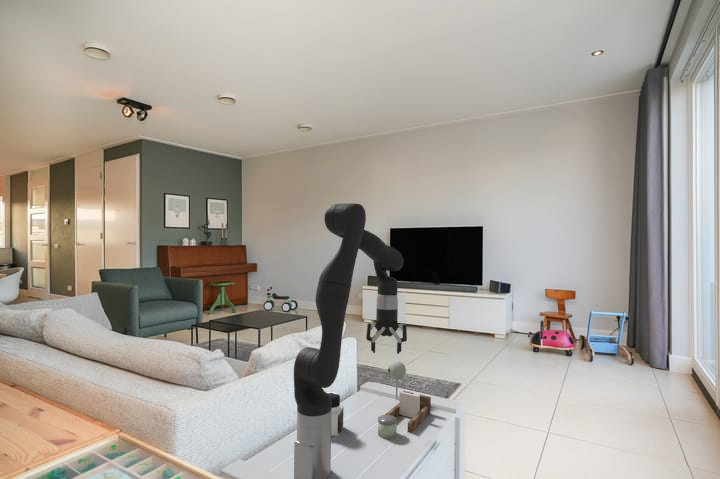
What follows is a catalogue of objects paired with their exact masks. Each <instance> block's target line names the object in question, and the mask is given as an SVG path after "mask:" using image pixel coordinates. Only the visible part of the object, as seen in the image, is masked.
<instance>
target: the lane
mask: <svg viewBox="0 0 720 479" xmlns="http://www.w3.org/2000/svg"><path fill="white" fill-rule="evenodd" d="M402 392H405V393H410V394H414V393H413V392H411V391H406V390H403V391H402ZM414 395H415V394H414ZM419 396H420V412H419V413H417V414H416V415H415V416H414V417H413V418H410V420H409V421H408V422H407V433H410V434H412V432H413V431H414V430H416V428H417V427H418V426H419V425H420V424H421V423H422V422H423V421H424V420H425V419H426V418H427V417H428V416H430V415H431V413H432V410H431V407H432V406H431V405H432V404H431V402H432V397H431V396H428V395H424V394H420V395H419ZM384 415H392V416H394V417H396V418H397V417H398V416H400V415H399V403H397V404H396V405H395V406H394V407H392V408H391V409H390V410H389V411H387V412H386V413H385V414H384Z"/></svg>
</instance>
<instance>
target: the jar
mask: <svg viewBox="0 0 720 479" xmlns="http://www.w3.org/2000/svg"><path fill="white" fill-rule="evenodd" d="M377 422H378V423H377V435H378V437H380V438H381V439H385V440H391V439H394V438H397V430H398V429H397V423H398V419H397V417H394V416H392V415H385V414H382V415H380V416H378V417H377Z"/></svg>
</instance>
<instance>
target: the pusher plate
mask: <svg viewBox="0 0 720 479" xmlns="http://www.w3.org/2000/svg"><path fill="white" fill-rule="evenodd" d="M398 404H399V415H398V416H400V415H401V416H404V417H408V418H410V419H412V418H413V417H414V416H415V415H416V414H417V413H419V412H420V395H418V394H410V393H405V392H403V391H399V402H398Z"/></svg>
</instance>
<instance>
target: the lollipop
mask: <svg viewBox="0 0 720 479" xmlns="http://www.w3.org/2000/svg"><path fill="white" fill-rule="evenodd" d="M387 372H388V375H389V376H390V377H391V378H392V379H394V380H395V400H398V392H399V391H398V389H399V388H398V385H399V384H398V380H401V379H403V378H404V377H405V375H406V373H407V369H406V366H405V364H404V363H403V362H402V361H401V360H394V361H391V362H390V364H389V365H388V367H387Z"/></svg>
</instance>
